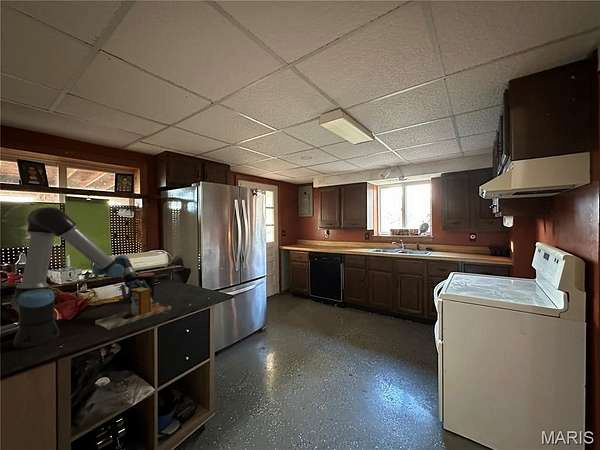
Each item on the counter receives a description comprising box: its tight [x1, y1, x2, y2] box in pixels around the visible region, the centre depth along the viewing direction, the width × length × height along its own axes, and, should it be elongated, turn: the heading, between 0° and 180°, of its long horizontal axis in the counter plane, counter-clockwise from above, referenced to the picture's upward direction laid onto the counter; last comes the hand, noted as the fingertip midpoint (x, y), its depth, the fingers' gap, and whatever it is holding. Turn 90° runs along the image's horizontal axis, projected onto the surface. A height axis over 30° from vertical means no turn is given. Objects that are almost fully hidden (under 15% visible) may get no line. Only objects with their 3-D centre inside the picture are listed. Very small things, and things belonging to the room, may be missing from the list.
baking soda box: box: [129, 287, 151, 317], centre depth 149 cm, size 10×6×16 cm
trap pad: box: [151, 304, 166, 312], centre depth 158 cm, size 9×11×1 cm
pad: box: [97, 317, 126, 329], centre depth 137 cm, size 11×11×1 cm
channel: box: [94, 302, 172, 331], centre depth 147 cm, size 35×14×2 cm, turn 151°
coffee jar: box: [136, 272, 155, 300], centre depth 182 cm, size 11×11×18 cm
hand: (143, 305), depth 148 cm, fingers open, 9 cm apart
